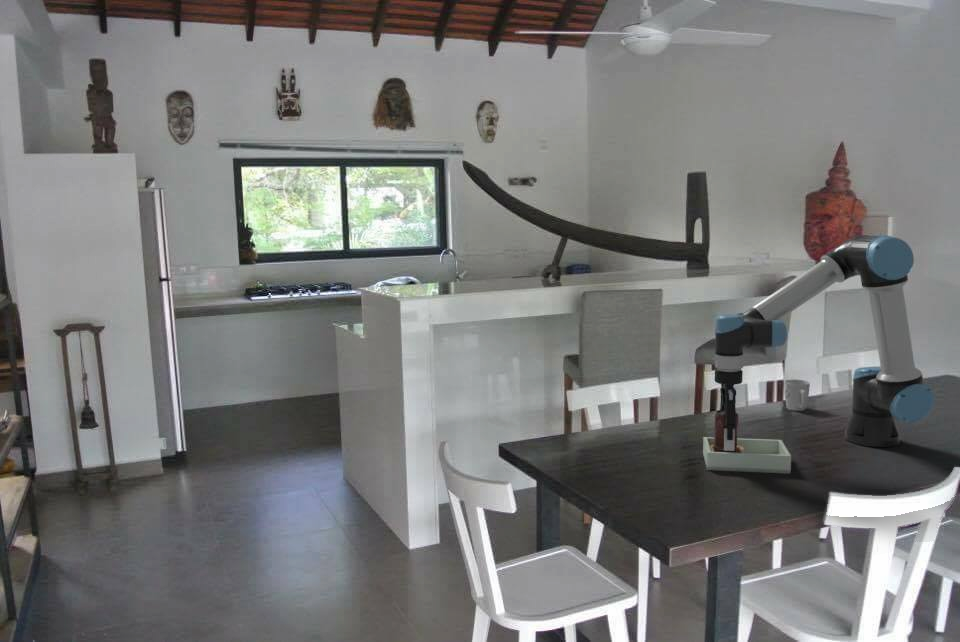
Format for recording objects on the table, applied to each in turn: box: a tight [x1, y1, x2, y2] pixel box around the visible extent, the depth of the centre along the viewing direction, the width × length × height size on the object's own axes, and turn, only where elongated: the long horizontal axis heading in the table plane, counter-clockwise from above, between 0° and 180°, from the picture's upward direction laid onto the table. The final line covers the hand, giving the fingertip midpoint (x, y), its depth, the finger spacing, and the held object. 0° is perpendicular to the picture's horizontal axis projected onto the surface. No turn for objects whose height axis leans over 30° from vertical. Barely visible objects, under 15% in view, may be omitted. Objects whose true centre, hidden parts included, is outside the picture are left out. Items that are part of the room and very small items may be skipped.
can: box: [714, 409, 739, 453], centre depth 214 cm, size 6×6×14 cm
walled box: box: [702, 436, 792, 475], centre depth 214 cm, size 22×15×5 cm
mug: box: [783, 379, 811, 412], centre depth 269 cm, size 11×8×10 cm
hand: (727, 444), depth 215 cm, fingers open, 10 cm apart
